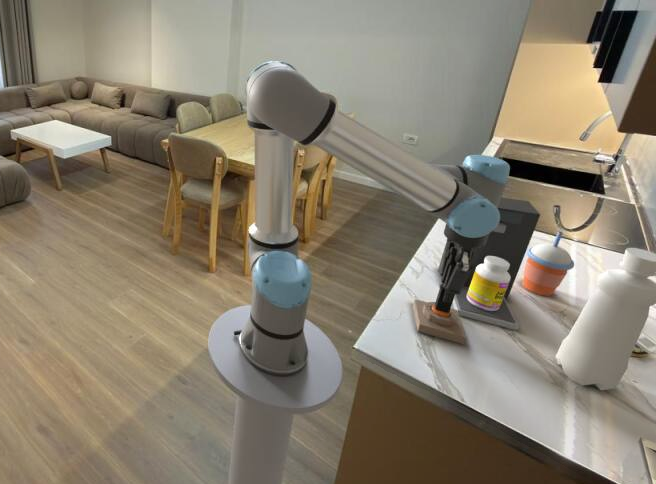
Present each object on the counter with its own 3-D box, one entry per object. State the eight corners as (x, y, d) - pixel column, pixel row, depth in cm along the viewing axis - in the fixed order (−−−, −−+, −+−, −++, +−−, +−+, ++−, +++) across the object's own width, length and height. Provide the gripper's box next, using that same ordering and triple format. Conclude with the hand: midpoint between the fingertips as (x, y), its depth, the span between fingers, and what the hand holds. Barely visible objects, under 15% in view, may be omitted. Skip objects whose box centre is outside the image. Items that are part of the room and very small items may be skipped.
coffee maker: (451, 313, 100) (481, 224, 91) (437, 270, 117) (461, 191, 108) (522, 331, 94) (562, 238, 85) (497, 283, 111) (528, 201, 102)
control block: (417, 331, 94) (421, 318, 93) (412, 305, 103) (416, 293, 101) (463, 344, 91) (468, 331, 89) (454, 316, 99) (458, 303, 98)
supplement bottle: (492, 315, 97) (508, 272, 92) (460, 300, 102) (474, 258, 98) (503, 306, 100) (520, 263, 95) (473, 291, 105) (487, 250, 101)
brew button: (431, 318, 95) (433, 312, 94) (429, 308, 98) (430, 303, 98) (449, 323, 94) (451, 317, 93) (446, 313, 97) (448, 307, 96)
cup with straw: (530, 276, 114) (552, 221, 107) (568, 296, 105) (595, 238, 99) (506, 281, 112) (527, 226, 105) (544, 302, 103) (570, 244, 97)
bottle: (544, 352, 88) (597, 237, 78) (600, 366, 85) (662, 247, 74) (564, 384, 81) (625, 262, 70) (626, 401, 77) (700, 274, 67)
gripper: (498, 242, 80) (467, 332, 88) (481, 214, 91) (455, 297, 99) (453, 234, 83) (427, 322, 91) (442, 208, 94) (419, 289, 102)
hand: (441, 309), depth 95 cm, fingers closed
